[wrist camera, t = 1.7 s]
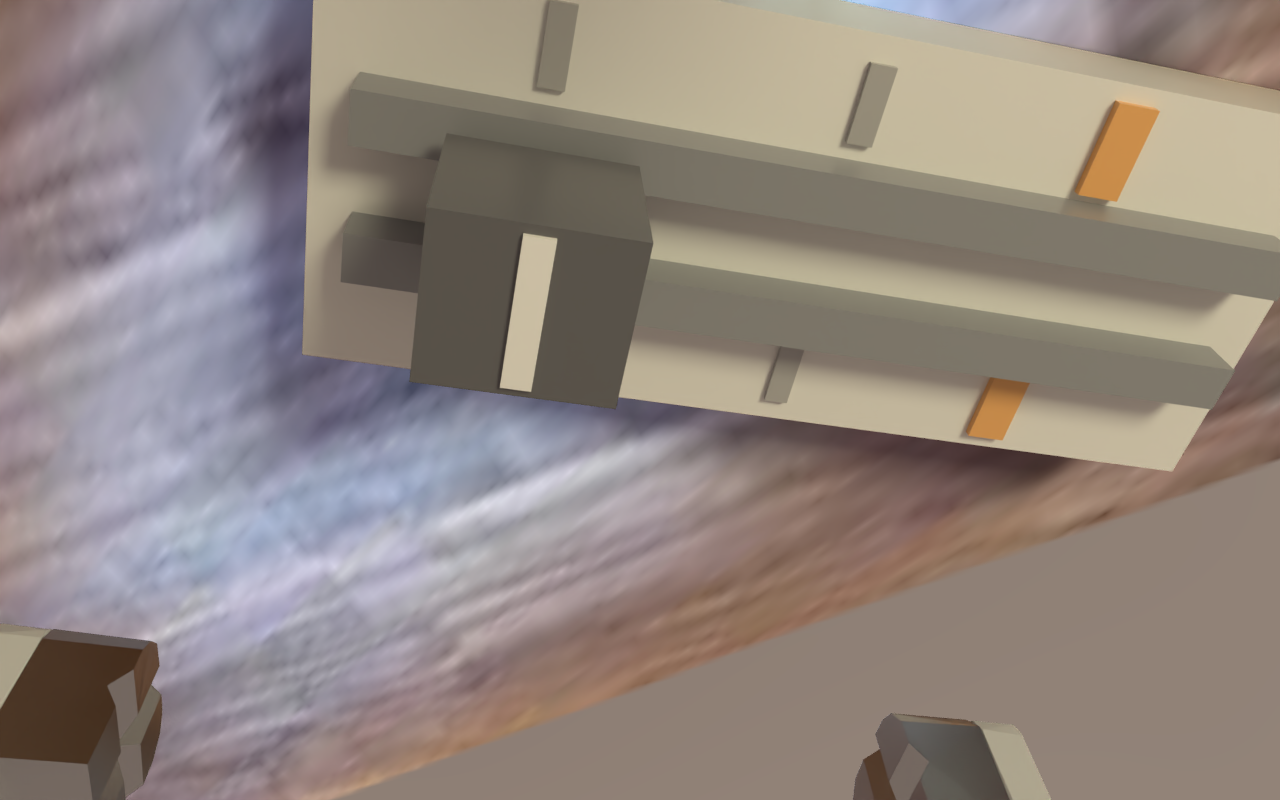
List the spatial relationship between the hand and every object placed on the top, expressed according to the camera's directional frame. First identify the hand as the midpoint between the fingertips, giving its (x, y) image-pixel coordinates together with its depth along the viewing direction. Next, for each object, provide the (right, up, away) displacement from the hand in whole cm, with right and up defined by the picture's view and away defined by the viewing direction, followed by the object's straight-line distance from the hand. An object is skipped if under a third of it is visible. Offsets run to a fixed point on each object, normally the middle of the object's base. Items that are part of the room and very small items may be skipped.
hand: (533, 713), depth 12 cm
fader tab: (-1, +8, +12) cm, 14 cm away
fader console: (+5, +9, +16) cm, 19 cm away
